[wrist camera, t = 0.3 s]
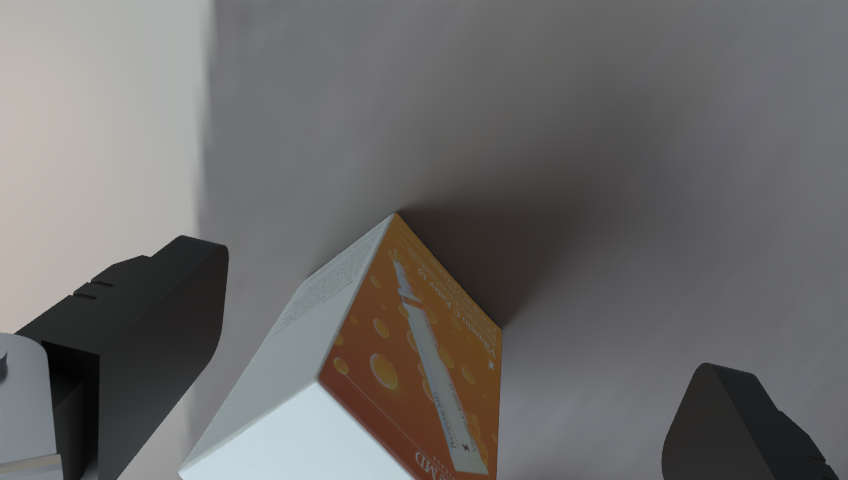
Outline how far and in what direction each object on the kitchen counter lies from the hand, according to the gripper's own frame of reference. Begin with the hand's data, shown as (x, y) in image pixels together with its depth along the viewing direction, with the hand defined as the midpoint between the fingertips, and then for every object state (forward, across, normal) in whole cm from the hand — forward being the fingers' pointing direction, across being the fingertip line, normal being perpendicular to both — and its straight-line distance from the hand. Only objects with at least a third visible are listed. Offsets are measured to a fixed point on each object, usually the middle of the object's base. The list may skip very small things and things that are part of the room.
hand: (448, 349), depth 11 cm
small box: (+18, +2, +9) cm, 21 cm away
